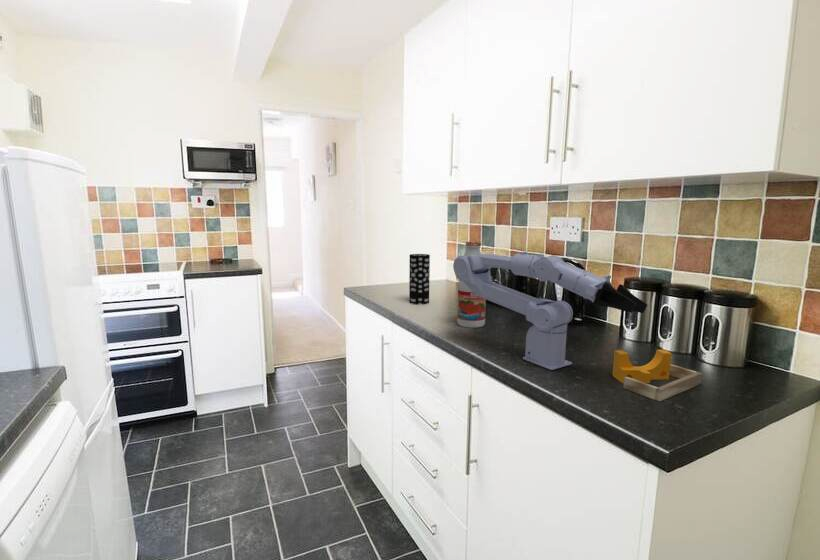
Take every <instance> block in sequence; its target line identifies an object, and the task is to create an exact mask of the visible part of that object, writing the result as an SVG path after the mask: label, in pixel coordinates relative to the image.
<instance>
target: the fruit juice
mask: <svg viewBox="0 0 820 560" xmlns="http://www.w3.org/2000/svg"><path fill="white" fill-rule="evenodd" d="M481 246H482V243H481V241H466V242H465V248H466V249H465V252H464V254H463V256H469V255H477V254H482V252H481ZM457 282H458V284H457V313H456V315H457V316H456V317H457V318H456V321H457V322H456V323H457V325H459V326H460V327H463V328H481V327H483V326H485V323H486V310H487V309H486V304H487V303H486V302H487V299H484V298H482V297H479V296H477V295H475V294H474V293H473V292H472V291H471V290H470V289H469V288H468V286H467V285H466V284H465V283H464V282H463V281H461V280H459V279H458V281H457Z"/></svg>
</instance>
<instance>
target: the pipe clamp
mask: <svg viewBox="0 0 820 560" xmlns="http://www.w3.org/2000/svg"><path fill="white" fill-rule="evenodd" d="M655 351H656V352H655V354H654V357H653V358H652V359H651V360H650V361H649V362H648V363H646V364H644V365H641V366H640V365H639V366H635V365H633V364H632V363H631V361H630V358H629V357H630V354H629V353H628V352H626V351H625V350H624V349H616V350H614V351H613V352H614V353H613V365H612V377H613V378H614V379H616V380H617V381H618V382H620V383H622V384H624V377H629V378H632V379H635V380H638V381H641V382H644V383H647V384H650V383H651V381H652V380H653V381H654V380H659V381H660V380H665V379H666V380H670V375H669V374H670V365H671V364H672V357H673V356H672V355H673V354H672V352H670V351H669V350H666V349H656V350H655Z"/></svg>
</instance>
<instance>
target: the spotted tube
mask: <svg viewBox="0 0 820 560" xmlns="http://www.w3.org/2000/svg"><path fill="white" fill-rule="evenodd" d="M430 259H431V256H430V254H429V253H412V254H410V253H409V277H408V278H409V279H408V280H409V284H408V285H409V286H408V287H409V290H408V291H409V297H408V299H409V301H408V303H409V302H410V303H409V304H411V303H414V304H413V305H417V304H422V305H427V303H428V304H430V276H431V275H430V271H431V269H430V266H431V265H430V264H431V263H430V262H431V260H430Z"/></svg>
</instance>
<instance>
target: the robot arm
mask: <svg viewBox="0 0 820 560" xmlns="http://www.w3.org/2000/svg"><path fill="white" fill-rule="evenodd" d="M492 268H495V269H496V268H498V269H506V270H510V271H511V272H512V274H514V275H516V276H522V277H529V278H537V279H538V281H540V282H548V281H550V282H551V283H553V284H555V285H558V286H559V287H561V288H563V289H565V290H567V291H569V292H572V293H574V294H576V295H578V296H580V297H583V298H585V299H586V300H589V301H591V303H592V304H593V306H594V307H607V308H612V309H615V310H620V311H623V312H627V313H633V312H635V313H640V314H644V312H645V311H646V309H647V307H648V304H647V303H646V302H645V301H643V300H642V299H640V298H639V297H637V296H635V295H634V294H633V293H632V292H630V290H628V288H627V287H626V285H624V284H618V286H617V288H616V289H615V287H613V285H612V282H611V278H612V277H611V275H609V274H605V275H604V277H601V276H598V275H596V274H593V273H591V272H589V271H586V270H585V269H582V268H580V267H578V266H575V265H573V264H570V263H567V262H565V261H564V259H563V258H562V257H560V256H557V255H554V254H552V255H548V256H544V254H543V253H537V254H528V251H520V252H518V253H515V254H514V255H513V256H506V255H500V254H494V253H481V254H477V255H469V256H464V255H458V256H457V257H455V259H454V261H453V271H454V275H455V277H456V279H457V280H458V281H459V280H461V281H463V282H464V283H465V284H466V285H467V286H468V288H469V289H470V290H471V291H472V292H473V293H474V294H475V295H477V296H479V297H482V298H484V299H486V301H490V302H492V303H493V304H497V305H499V306H502V307H504V308H507V309H509V310H512V311H514V312H516V313H519V314H522V315H524V316H525V319H526V321H528V322H529V323H531V324H533V325H532V326H530V327H529V328H528V330H527V332H526V337H525V353H524V354H525V355H524V356H523V357H522V359H523V360H525V361H527V362H529V363H532V364H534V365H538V366H540V367H541V368H545V369H547V370H550V371H553V370H557V369H560V368H563V367H567V366H571V365H573V362H572V361H569V360H567V359H566V349H567V347H566V345H567V333H568V332H567V331H568V324H569V323H570V322H571V321H572V319H573V315H574V312H573V308H572V306H571V305H570V304H569V303H568V302H566V301H565V300H551V299H547V298H537V297H534V296H532V295H529V294H526V293H524V292H520V291H518V290H516V289H513V288H509V287H507V286H505V285H501V284H499V283H496V282H493V281H492V276H491V275H492V274H491V269H492Z"/></svg>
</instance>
